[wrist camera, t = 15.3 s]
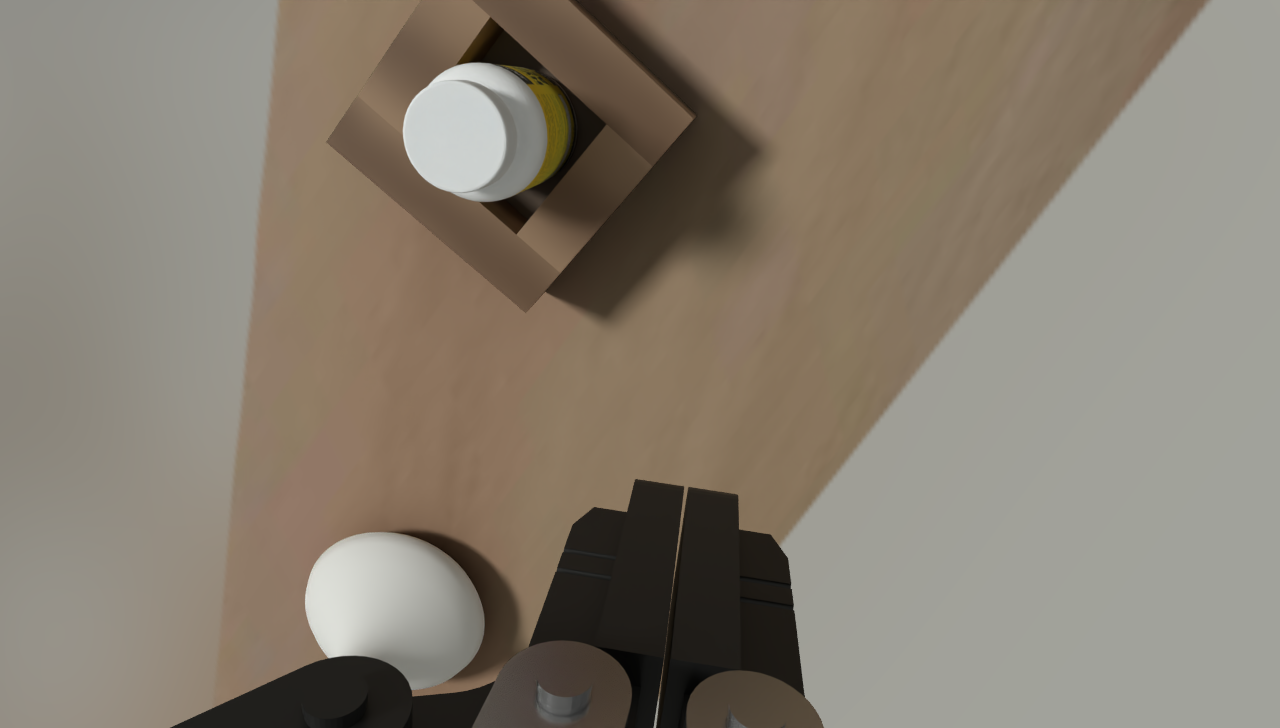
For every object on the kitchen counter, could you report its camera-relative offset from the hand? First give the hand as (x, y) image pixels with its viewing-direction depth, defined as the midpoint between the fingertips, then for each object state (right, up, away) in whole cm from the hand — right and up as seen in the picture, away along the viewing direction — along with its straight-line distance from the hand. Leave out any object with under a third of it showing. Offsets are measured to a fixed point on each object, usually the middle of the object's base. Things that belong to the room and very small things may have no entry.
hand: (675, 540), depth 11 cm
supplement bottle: (-6, +14, +26) cm, 30 cm away
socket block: (-6, +14, +27) cm, 31 cm away
